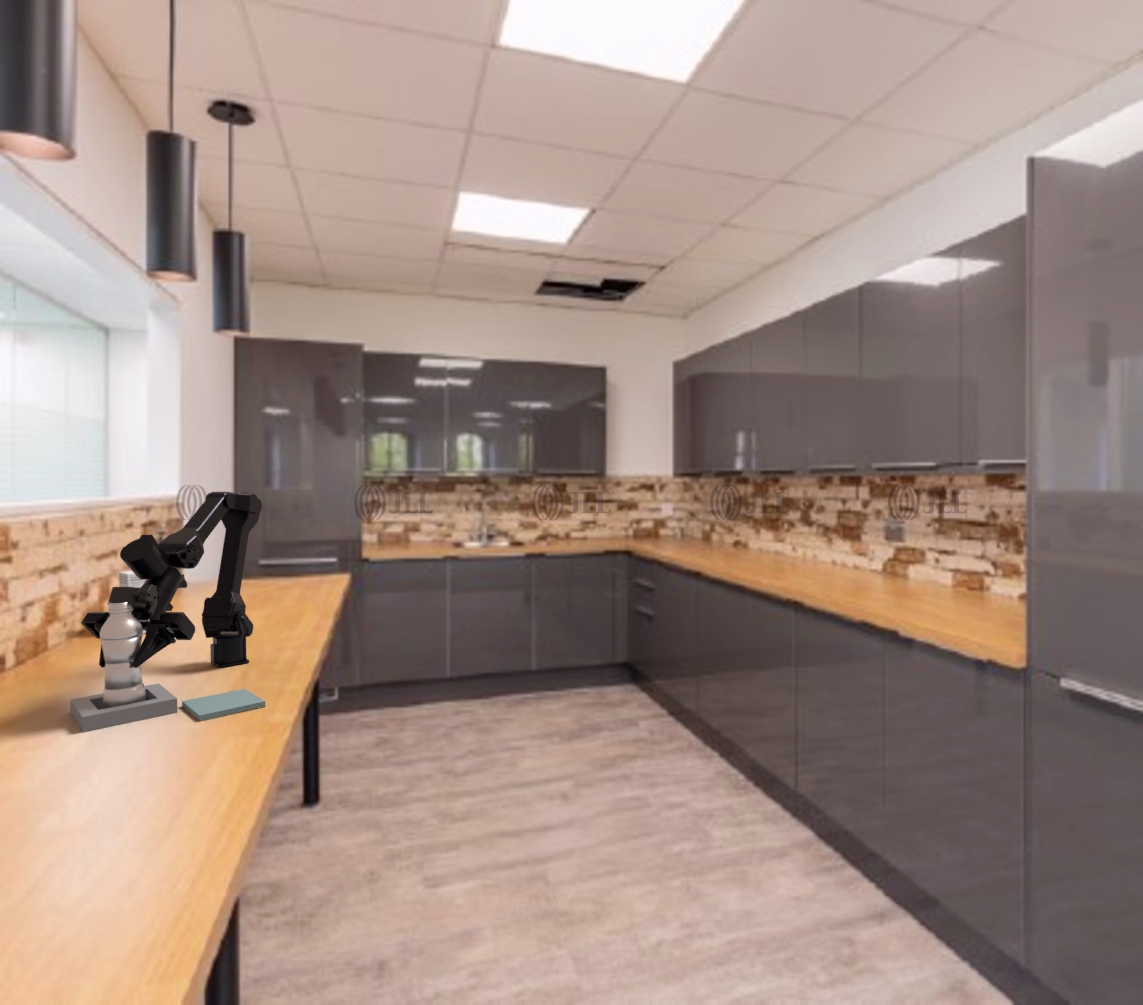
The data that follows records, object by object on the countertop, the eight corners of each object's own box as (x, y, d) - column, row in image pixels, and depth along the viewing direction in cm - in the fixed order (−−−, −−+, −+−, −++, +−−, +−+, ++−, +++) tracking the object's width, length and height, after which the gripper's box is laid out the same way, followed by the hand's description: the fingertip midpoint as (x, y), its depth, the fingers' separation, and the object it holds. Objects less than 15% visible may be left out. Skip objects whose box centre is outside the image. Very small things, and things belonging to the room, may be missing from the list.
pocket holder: (159, 696, 134) (158, 683, 134) (177, 712, 125) (177, 698, 125) (70, 713, 124) (70, 699, 124) (83, 731, 115) (82, 717, 115)
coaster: (244, 693, 135) (244, 688, 135) (265, 706, 127) (265, 701, 127) (182, 706, 128) (181, 701, 128) (199, 721, 120) (199, 715, 120)
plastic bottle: (154, 707, 127) (151, 599, 126) (120, 720, 120) (116, 605, 120) (129, 704, 129) (125, 597, 128) (93, 716, 123) (89, 603, 122)
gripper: (87, 568, 128) (40, 642, 118) (184, 568, 127) (145, 643, 116) (118, 602, 136) (77, 674, 126) (210, 603, 135) (176, 675, 125)
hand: (117, 666), depth 123 cm, fingers closed on plastic bottle, 6 cm apart
